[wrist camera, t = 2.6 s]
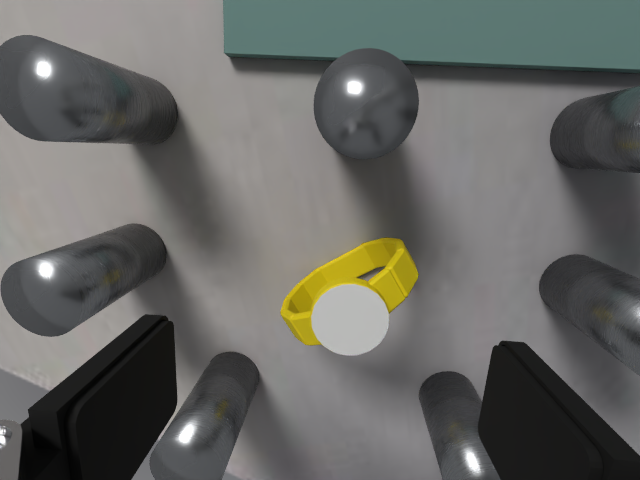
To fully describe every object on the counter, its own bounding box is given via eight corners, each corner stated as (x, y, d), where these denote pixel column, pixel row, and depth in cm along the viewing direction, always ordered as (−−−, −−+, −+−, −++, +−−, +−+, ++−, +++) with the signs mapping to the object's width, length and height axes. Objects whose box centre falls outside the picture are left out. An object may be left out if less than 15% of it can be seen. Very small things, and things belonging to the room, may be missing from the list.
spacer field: (656, 99, 15) (861, 66, 9) (562, 429, 19) (657, 552, 13) (92, 74, 16) (-52, 32, 10) (125, 386, 20) (38, 480, 15)
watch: (383, 215, 17) (413, 242, 11) (408, 261, 18) (450, 310, 12) (280, 273, 18) (259, 326, 12) (307, 316, 18) (300, 387, 12)
